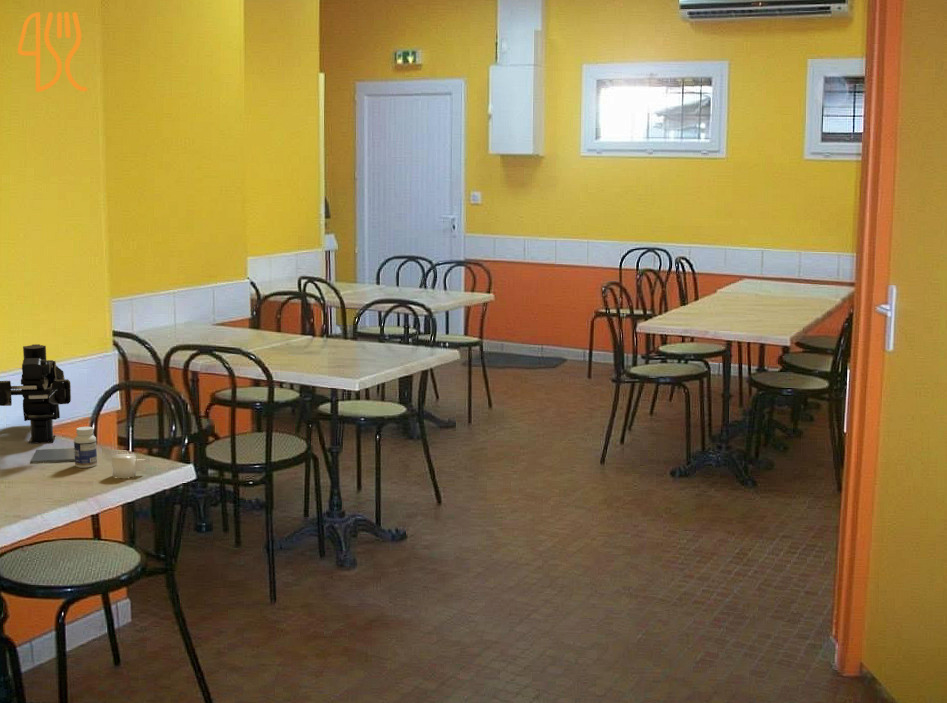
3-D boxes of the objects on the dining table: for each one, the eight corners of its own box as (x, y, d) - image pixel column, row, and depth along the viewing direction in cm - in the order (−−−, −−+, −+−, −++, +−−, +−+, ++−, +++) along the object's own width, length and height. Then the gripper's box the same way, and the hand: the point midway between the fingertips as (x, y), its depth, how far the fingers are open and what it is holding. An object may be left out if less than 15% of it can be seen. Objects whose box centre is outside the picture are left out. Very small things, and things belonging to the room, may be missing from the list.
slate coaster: (36, 451, 313) (36, 449, 313) (83, 449, 316) (83, 447, 316) (30, 463, 302) (30, 461, 302) (79, 460, 305) (79, 458, 305)
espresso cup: (113, 473, 293) (112, 454, 292) (145, 472, 295) (145, 452, 294) (111, 479, 288) (111, 459, 287) (144, 477, 290) (144, 458, 289)
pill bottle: (74, 464, 302) (72, 426, 300) (96, 462, 304) (94, 425, 302) (76, 469, 297) (74, 431, 295) (98, 467, 299) (96, 429, 297)
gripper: (-4, 357, 310) (-12, 370, 295) (71, 355, 315) (66, 368, 300) (-2, 398, 312) (-10, 413, 297) (72, 396, 317) (68, 410, 302)
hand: (29, 400), depth 299 cm, fingers open, 9 cm apart
